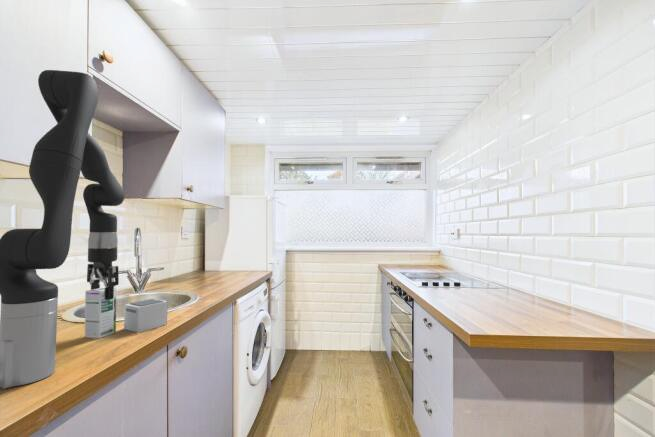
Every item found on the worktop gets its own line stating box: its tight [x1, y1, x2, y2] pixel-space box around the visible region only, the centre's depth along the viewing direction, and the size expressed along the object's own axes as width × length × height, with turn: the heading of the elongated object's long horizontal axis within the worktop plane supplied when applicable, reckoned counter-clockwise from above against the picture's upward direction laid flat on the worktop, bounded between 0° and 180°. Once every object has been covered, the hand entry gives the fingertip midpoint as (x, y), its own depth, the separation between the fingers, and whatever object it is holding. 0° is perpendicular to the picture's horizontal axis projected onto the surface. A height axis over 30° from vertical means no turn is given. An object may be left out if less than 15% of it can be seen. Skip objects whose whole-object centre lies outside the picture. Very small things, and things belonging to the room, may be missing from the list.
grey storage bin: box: [123, 298, 168, 334], centre depth 104 cm, size 10×8×8 cm
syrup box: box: [84, 286, 117, 339], centre depth 96 cm, size 6×6×14 cm
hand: (101, 297), depth 96 cm, fingers open, 8 cm apart
